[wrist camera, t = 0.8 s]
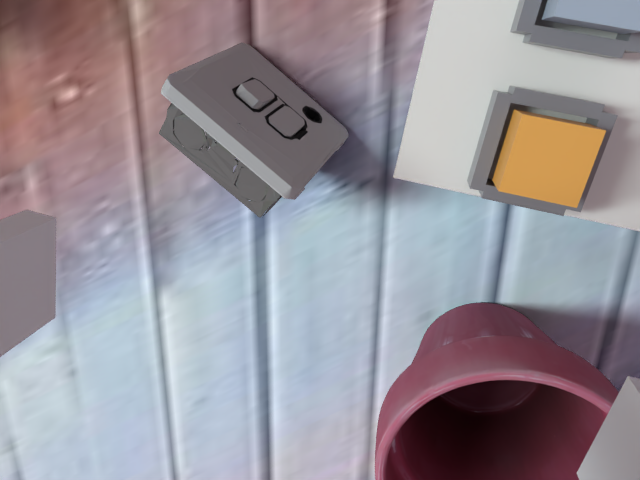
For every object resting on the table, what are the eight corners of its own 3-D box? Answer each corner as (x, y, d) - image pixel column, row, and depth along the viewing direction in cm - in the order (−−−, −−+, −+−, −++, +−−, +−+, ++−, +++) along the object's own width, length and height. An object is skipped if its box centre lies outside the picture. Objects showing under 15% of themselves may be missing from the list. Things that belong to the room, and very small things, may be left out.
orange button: (513, 109, 28) (522, 113, 25) (590, 123, 27) (606, 130, 25) (492, 180, 29) (498, 191, 27) (563, 195, 29) (576, 208, 26)
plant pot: (607, 413, 38) (690, 576, 26) (424, 450, 42) (424, 604, 30) (553, 242, 34) (622, 339, 23) (360, 300, 39) (332, 408, 27)
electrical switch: (353, 132, 34) (319, 170, 26) (308, 186, 37) (264, 236, 29) (246, 39, 34) (176, 48, 26) (207, 100, 36) (132, 126, 28)
